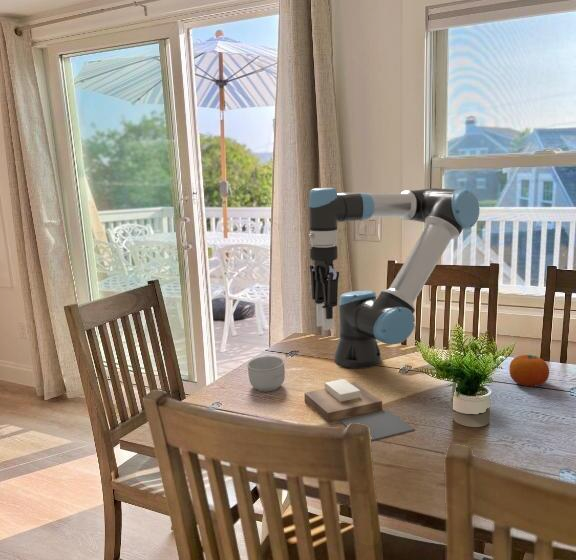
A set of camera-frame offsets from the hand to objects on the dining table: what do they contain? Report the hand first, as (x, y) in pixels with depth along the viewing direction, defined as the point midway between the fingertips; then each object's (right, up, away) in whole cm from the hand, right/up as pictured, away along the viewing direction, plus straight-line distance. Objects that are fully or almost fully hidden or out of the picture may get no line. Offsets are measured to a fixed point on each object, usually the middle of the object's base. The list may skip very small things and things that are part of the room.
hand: (324, 327), depth 157 cm
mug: (+38, -20, -8) cm, 44 cm away
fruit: (+59, -17, +4) cm, 62 cm away
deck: (+4, -20, -7) cm, 22 cm away
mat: (+12, -23, -19) cm, 32 cm away
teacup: (-16, -18, +8) cm, 26 cm away
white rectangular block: (+4, -17, -6) cm, 19 cm away
